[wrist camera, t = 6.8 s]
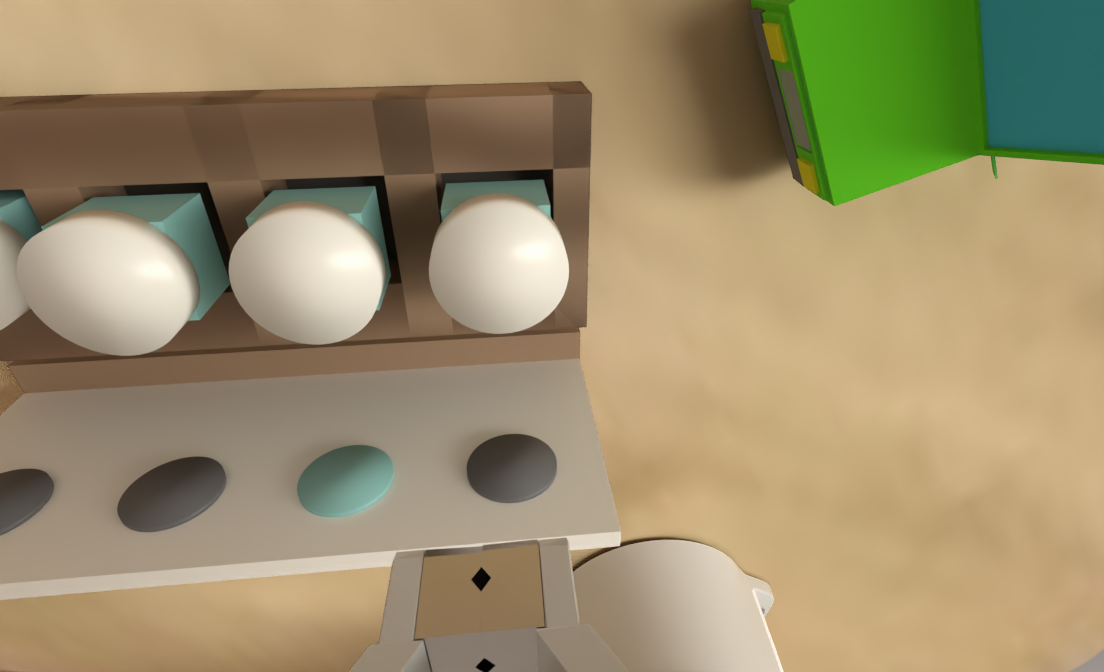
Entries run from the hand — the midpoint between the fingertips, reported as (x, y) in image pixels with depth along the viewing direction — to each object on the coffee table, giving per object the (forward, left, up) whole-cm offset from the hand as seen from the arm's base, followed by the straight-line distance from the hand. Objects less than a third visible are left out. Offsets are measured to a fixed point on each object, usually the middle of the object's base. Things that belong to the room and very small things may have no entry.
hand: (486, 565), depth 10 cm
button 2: (0, +6, -16) cm, 17 cm away
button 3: (0, +13, -16) cm, 20 cm away
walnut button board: (0, +9, -19) cm, 21 cm away
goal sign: (-8, +9, -19) cm, 23 cm away
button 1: (0, 0, -16) cm, 16 cm away
